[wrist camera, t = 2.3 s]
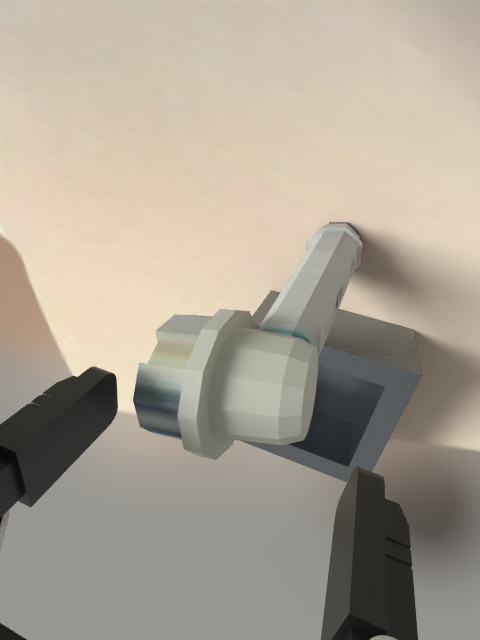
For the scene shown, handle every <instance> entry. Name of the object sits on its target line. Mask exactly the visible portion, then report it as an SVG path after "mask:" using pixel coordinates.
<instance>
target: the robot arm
mask: <svg viewBox="0 0 480 640" xmlns="http://www.w3.org/2000/svg"><path fill="white" fill-rule="evenodd" d="M117 409H118V402H117V381H116V376H115V374H113V373H111V372H108V371H105V370H103V369H100V368H97V367H91V368H89V369H87V370H86V371H85V372H84V373H82V374H81V375H80V376H78V377H76V376H72V377H70V378H67V379H65V380H62V381H60V382H57V383H56V384H54V385H53V386H52V387H50V388H49V389H48V390H46V391H45V392H44V393H43V394H42V395H40V396H38V397H37V398H36V399H34V400H33V401H32V402H31V404H27V405H26V406H25V407H23V408H22V409H21V410H19V411H18V412H17V413H15V414H14V415H13V416H11V417H10V418H9V419H7V420H6V421H5V422H3V423H2V424H1V425H0V550H1V545H2V542H3V538H4V534H5V530H6V526H7V522H8V518H9V509H10V508H11V507H12V506H13V505H14V504H15V503H16V502H17V501H19V502H21V503H23V504H25V505H27V506H29V507H32V506H33V505H34V504H35V503H36V502H37V500H38V499H39V498H40V497H41V496H42V495H43V494H44V493H45V492H46V491H47V490H48V489H49V488H50V487H51V486H52V485H53V484H54V483H55V482H56V481H57V480H58V478H59V477H60V476H61V475H62V474H63V473H64V472H65V471H66V470H67V469H68V468H69V467H70V466H71V465H72V464H73V463H74V462H75V461H76V460H77V459H78V458H79V457H80V455H81V454H82V453H83V452H84V451H85V450H86V449H87V448H88V447H89V446H90V445H91V444H92V443H93V442H94V441H95V440H96V439H97V438H98V437H99V436H100V435H101V433H102V432H103V431H104V430H105V429H106V428H107V427H108V426H109V425H110V424H111V423H112V421H113V420H114V418H115V416H116V413H117ZM384 483H385V482H384V477H383V476H381V475H378V474H376V473H373V472H370V471H368V470H365V469H362V468H360V467H357V466H356V467H355V468H354V470H353V472H352V474H351V476H350V478H349V480H348V483H347V485H346V487H345V489H344V491H343V493H342V496H341V498H340V500H339V503H338V507H337V511H336V516H335V523H334V531H333V540H332V548H331V557H330V566H329V574H328V583H327V592H326V601H325V609H324V617H323V626H322V635H321V640H418V635H417V622H416V609H415V597H414V585H413V572H412V569H411V566H412V559H411V551H410V535H409V525H408V523H407V520H406V518H405V516H404V514H403V511H402V509H401V507H400V505H399V504H398V503H395V502H392V501H390V500H387V499H385V484H384ZM0 640H26V639H25V638H23V637H21V636H20V635H18V634H17V633H15V632H14V631H12V630H10V629H9V628H7V627H6V626H4V625H2V624H1V623H0Z"/></svg>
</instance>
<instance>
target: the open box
mask: <svg viewBox="0 0 480 640" xmlns="http://www.w3.org/2000/svg"><path fill="white" fill-rule="evenodd" d="M279 294H280V293H279V292H275V291H272V290H271V291H270V293H269V294H268V295H267V297H266V298H265V300H264V301H263V302H262V304H261V305H260V307H259V308H258V309H257V311H256V312H255V314H254V315H253V316H252V318H253V321H254V323H255V325H256V327H257V329H258V328H259V326H260V324H261V323H262V321H263V320H264V318H265V317H266V315H267V313H268V312H269V310H270V309H271V307H272V305H273V304H274V302H275V301H276V299H277V297H278V296H279ZM421 376H422V373H421V368H420V362H419V357H418V352H417V346H416V341H415V335H414V330H413V329H409V328H405V327H402V326H398V325H395V324H391V323H387V322H384V321H380V320H377V319H373V318H369V317H366V316H362V315H358V314H355V313H351V312H348V311H344V310H340V309H338V311H337V313H336V316H335V318H334V321H333V323H332V326H331V328H330V331H329V333H328V336H327V338H326V341H325V343H324V346H323V348H322V350H321V353H320V355H319V358H318V375H317V385H316V394H315V400H314V407H313V413H312V417H311V422H310V426H309V430H308V433H307V435H306V437H305V439H304V440H302V441H298V442H295V443H291V444H287V445H277V444H267V443H258V442H249V441H243V442H245V443H248V444H251V445H253V446H256V447H258V448H261V449H263V450H266V451H268V452H271V453H273V454H276V455H278V456H281V457H284V458H286V459H289V460H291V461H294V462H296V463H299V464H302V465H304V466H307V467H309V468H312V469H315V470H317V471H320V472H322V473H325V474H327V475H330V476H333V477H335V478H338V479H340V480H343V481H345V482H348V480H349V478H350V476H351V474H352V472H353V470H354V468H355V467H356V466H357V467H360V468H362V469H365V470H368V471H370V472H372V470H373V469H374V467H375V465H376V463H377V461H378V459H379V457H380V455H381V453H382V451H383V449H384V447H385V445H386V443H387V442H388V440H389V438H390V436H391V434H392V432H393V430H394V428H395V426H396V424H397V422H398V420H399V418H400V416H401V414H402V412H403V411H404V409H405V407H406V405H407V403H408V401H409V399H410V397H411V395H412V393H413V391H414V389H415V387H416V385H417V383H418V382H419V380H420V378H421Z"/></svg>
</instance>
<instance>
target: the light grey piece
mask: <svg viewBox="0 0 480 640" xmlns="http://www.w3.org/2000/svg"><path fill="white" fill-rule="evenodd" d="M362 244H363V242H362V241H361V240H360V234H359V233H358V232H357V231H356V230H355V229H354V228H353V227H352V226H351V225H350V224H349V223H348V222H330V223H329V224H328V225H327V226H323V227H322V228H321V229H320V230H319V231H318V232H317V233H316V234H315V235H314V236H313V237H312V238H311V239H310V240H309V241H308V242H307V251H306V253H305V255H304V256H303V258H302V259H301V261H300V263H299V264H298V266H297V267H296V269H295V271H294V272H293V274H292V275H291V277H290V278H289V280H288V282H287V283H286V285H285V286H284V288H283V290H282V291H281V293H280V294H279V296H278V297H277V299H276V301H275V302H274V304H273V305H272V307H271V309H270V310H269V312H268V313H267V315H266V317H265V318H264V320H263V321H262V323H261V324H260V326H259V328H258V329H257V327H256V325H255V323H254V321H253V318H252V316H251V314H250V312H249V311H239V310H225V309H220V310H219V311H218V312H217V313H216V314H215V315H214V316H213V317H209V316H197V315H174V316H173V317H172V318H170V319H169V320H168V321H167V322H166V323H164V324H163V325H162V326H161V327H160V328H159V329H157V330H156V335H157V340H158V344H157V346H156V348H155V350H154V352H153V354H152V356H151V358H150V360H149V362H148V364H143V363H139V367H138V374H137V380H136V386H135V392H134V398H133V401H134V405H135V409H136V413H137V417H138V420H139V424H140V427H142V428H144V429H146V430H148V431H150V432H152V433H154V434H157V435H161V436H166V437H170V438H174V439H179V440H182V442H183V447H184V449H185V450H187V451H189V452H192V453H194V454H196V455H198V456H201V457H205V458H209V459H213V460H217V459H218V458H219V457H220V456H221V455H222V454H223V453H224V452H225V451H226V450H227V449H228V448H229V447H230V446H231V445H232V444H233V442H234V440H240V441H249V442H258V443H267V444H277V445H287V444H291V443H295V442H298V441H302V440H304V439H305V437H306V435H307V433H308V430H309V426H310V422H311V417H312V413H313V407H314V400H315V394H316V385H317V375H318V358H319V355H320V353H321V350H322V348H323V346H324V343H325V341H326V338H327V336H328V333H329V331H330V328H331V326H332V323H333V321H334V318H335V316H336V313H337V311H338V308H339V306H340V303H341V301H342V298H343V296H344V293H345V291H346V289H347V286H348V284H349V281H350V279H351V276H352V274H353V272H354V271H355V270H356V269H357V268H358V267H360V266H361V256H362Z"/></svg>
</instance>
